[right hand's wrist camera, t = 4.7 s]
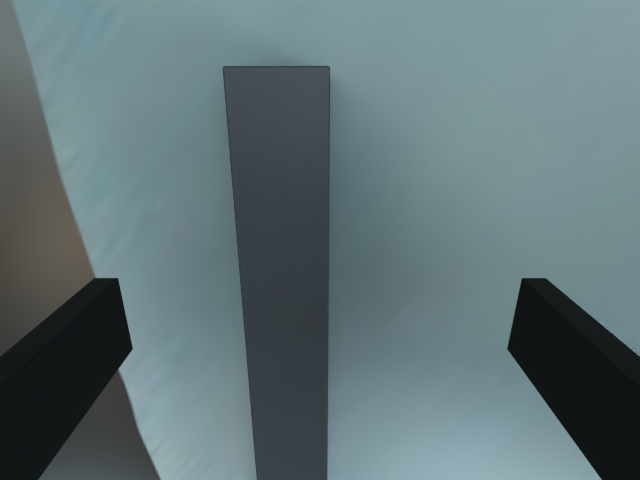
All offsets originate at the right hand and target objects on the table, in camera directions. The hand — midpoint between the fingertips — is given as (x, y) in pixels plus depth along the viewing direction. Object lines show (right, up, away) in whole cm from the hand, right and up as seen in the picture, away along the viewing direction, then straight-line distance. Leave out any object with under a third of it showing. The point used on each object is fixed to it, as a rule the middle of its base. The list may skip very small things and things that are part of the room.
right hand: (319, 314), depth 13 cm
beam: (-2, -20, +24) cm, 32 cm away
